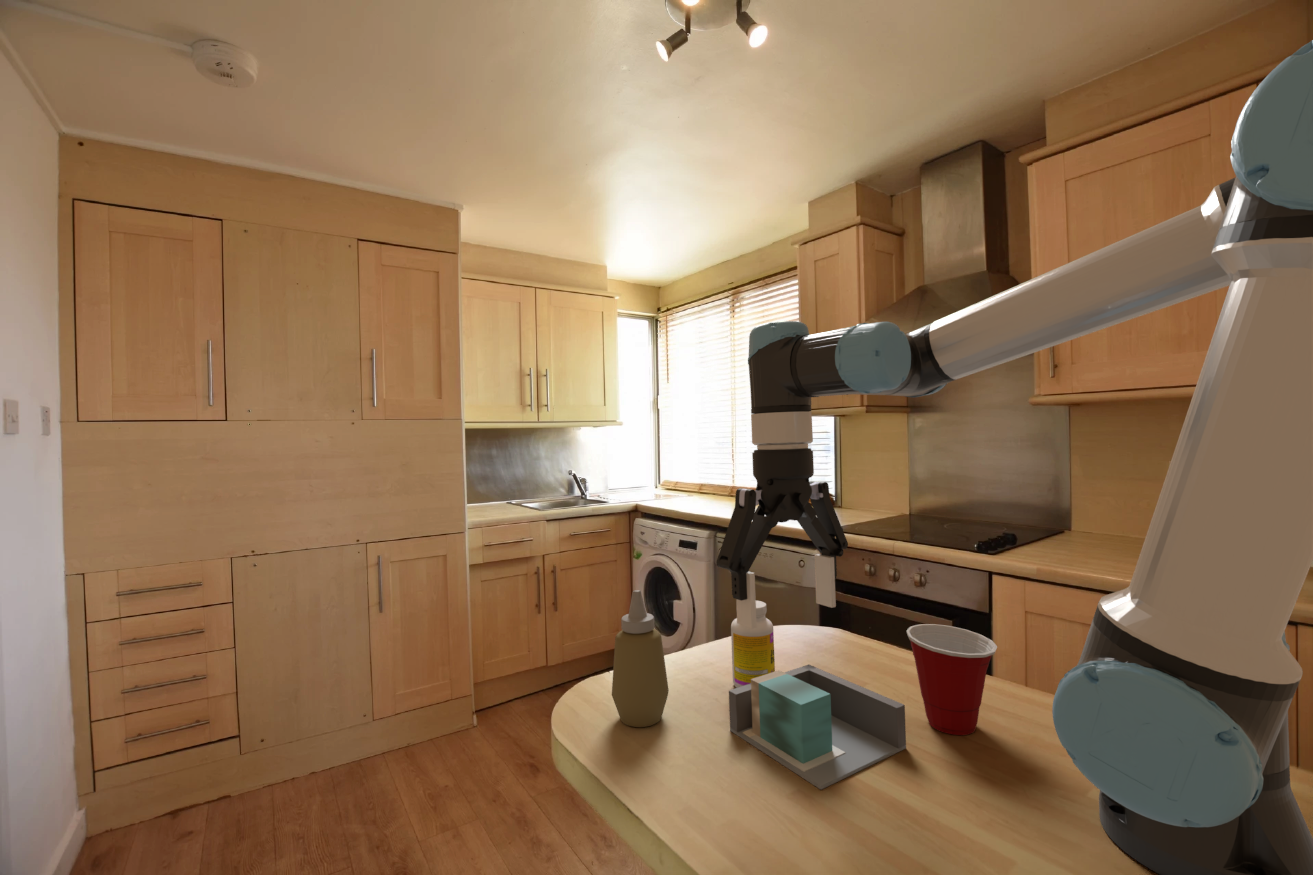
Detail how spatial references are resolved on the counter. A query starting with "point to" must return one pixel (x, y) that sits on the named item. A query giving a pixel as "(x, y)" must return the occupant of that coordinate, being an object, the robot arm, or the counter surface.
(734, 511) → the robot arm
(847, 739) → the corner tray
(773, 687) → the teal block
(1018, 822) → the counter surface
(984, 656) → the plastic cup
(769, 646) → the supplement bottle
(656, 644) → the squeeze bottle
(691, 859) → the counter surface
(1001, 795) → the counter surface
